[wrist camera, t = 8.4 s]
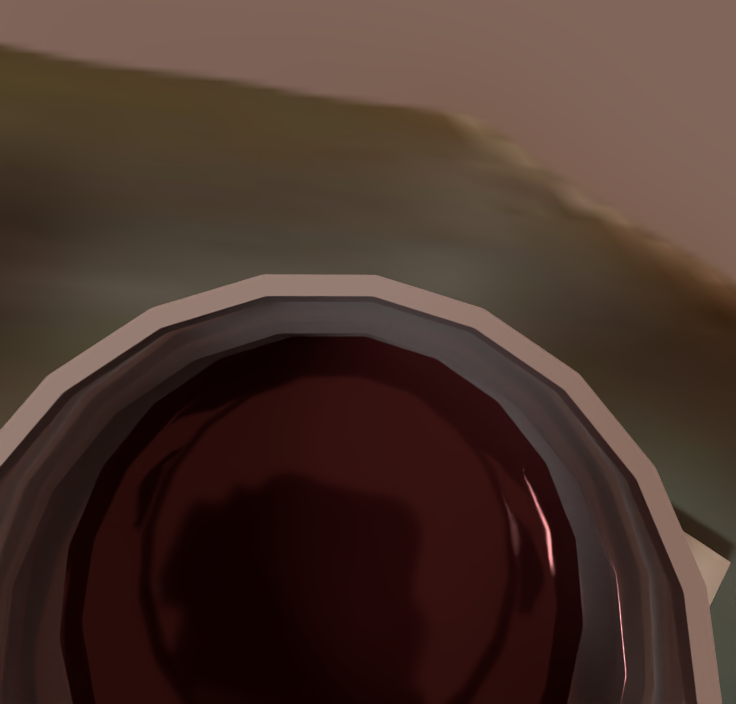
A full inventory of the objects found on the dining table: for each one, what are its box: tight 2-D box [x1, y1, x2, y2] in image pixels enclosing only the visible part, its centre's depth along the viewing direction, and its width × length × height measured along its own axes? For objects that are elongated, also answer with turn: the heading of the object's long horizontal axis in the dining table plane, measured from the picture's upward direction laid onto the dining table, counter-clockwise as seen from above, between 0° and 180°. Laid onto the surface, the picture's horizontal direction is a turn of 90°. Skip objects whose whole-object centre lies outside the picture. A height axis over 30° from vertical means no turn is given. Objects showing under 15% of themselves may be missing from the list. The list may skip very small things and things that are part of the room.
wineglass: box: [0, 274, 722, 704], centre depth 10 cm, size 7×7×12 cm
